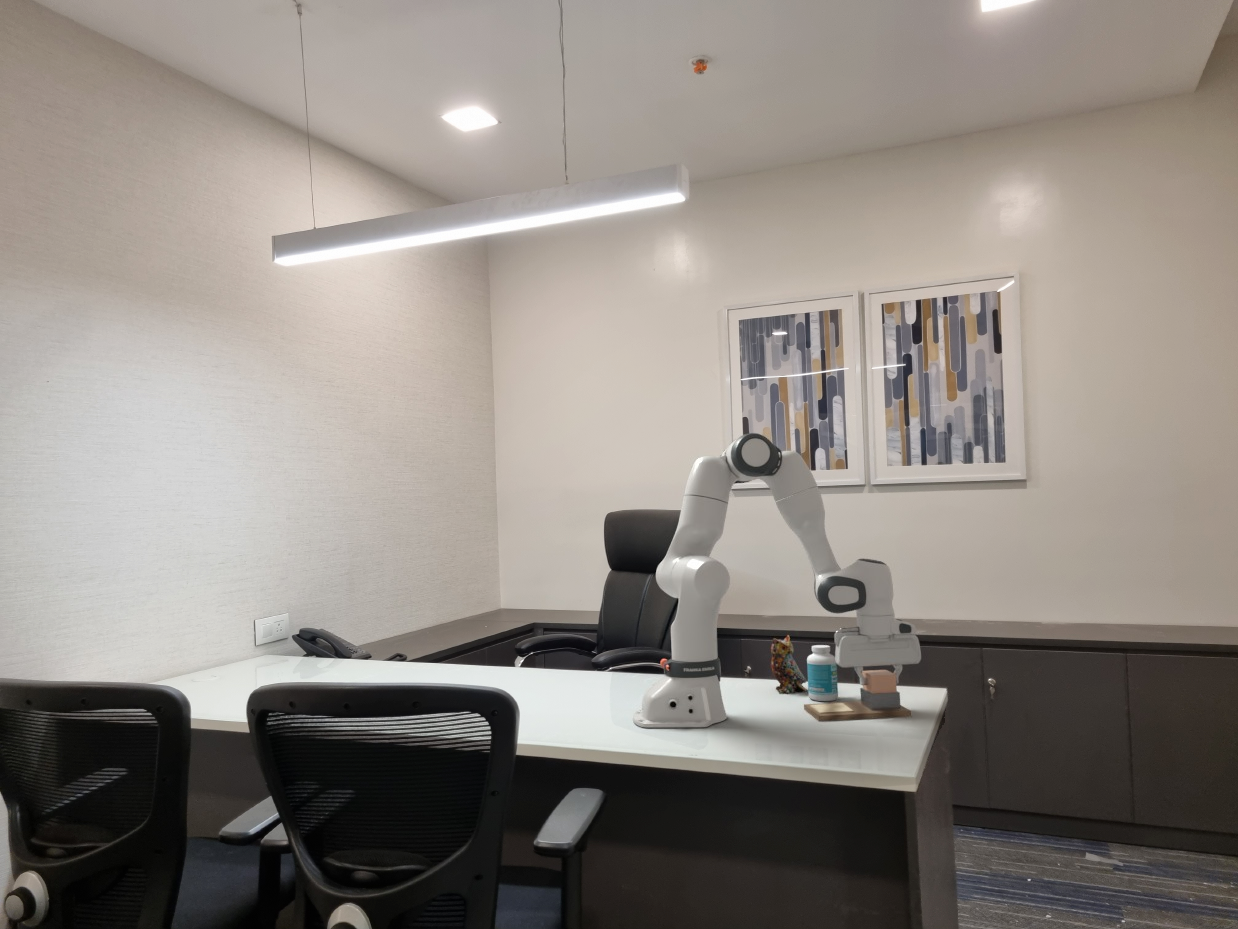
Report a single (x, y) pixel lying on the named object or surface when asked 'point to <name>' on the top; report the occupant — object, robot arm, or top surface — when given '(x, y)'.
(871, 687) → the salmon pink block
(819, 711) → the board
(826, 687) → the pill bottle
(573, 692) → the top surface
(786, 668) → the figurine
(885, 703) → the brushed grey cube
